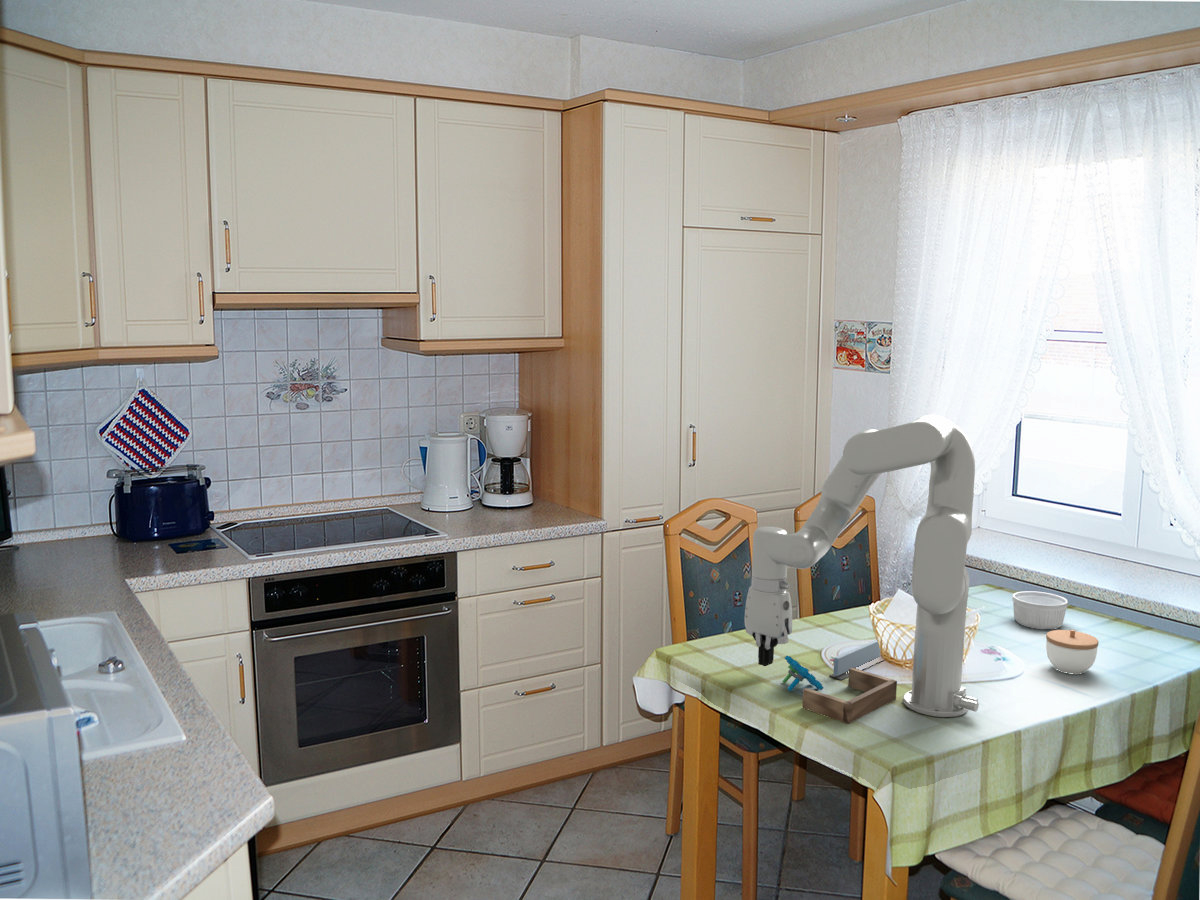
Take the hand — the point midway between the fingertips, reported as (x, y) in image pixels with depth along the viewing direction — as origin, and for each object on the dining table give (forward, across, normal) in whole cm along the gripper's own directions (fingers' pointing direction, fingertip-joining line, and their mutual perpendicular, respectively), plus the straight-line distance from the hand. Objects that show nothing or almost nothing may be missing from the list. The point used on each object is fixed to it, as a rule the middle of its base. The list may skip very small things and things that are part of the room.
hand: (765, 663), depth 223 cm
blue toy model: (+3, -10, 0) cm, 10 cm away
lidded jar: (+3, -45, -54) cm, 70 cm away
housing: (+3, -18, -10) cm, 21 cm away
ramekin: (+3, -26, -83) cm, 87 cm away
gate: (+3, -12, -19) cm, 22 cm away
